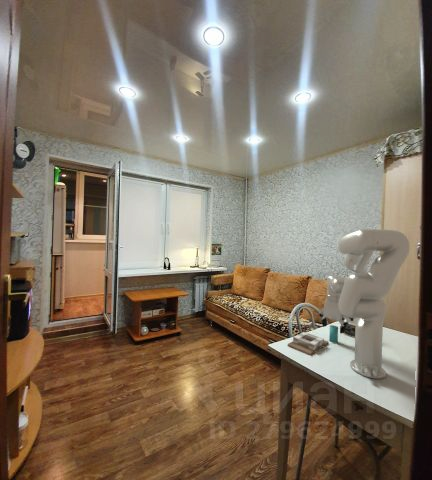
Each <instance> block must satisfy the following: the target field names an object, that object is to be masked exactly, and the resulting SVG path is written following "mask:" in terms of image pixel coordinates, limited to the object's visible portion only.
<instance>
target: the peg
mask: <svg viewBox="0 0 432 480" xmlns="http://www.w3.org/2000/svg"><path fill="white" fill-rule="evenodd" d="M328 338H329V341H328V342H329V343H333V344H338V342H339V326H336V325H335V324H333V325H332V324H331V325H329V337H328Z"/></svg>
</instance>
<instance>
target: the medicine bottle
mask: <svg viewBox="0 0 432 480" xmlns="http://www.w3.org/2000/svg"><path fill="white" fill-rule="evenodd" d="M350 319H351V321H350V322H349V324H347V325H346V326H345V332H344V333H342V334H343V335H345V336H349V337H353V338H355V326H356V323H357V321H358V319H359V318H350ZM344 321H345V322H346V320H344Z"/></svg>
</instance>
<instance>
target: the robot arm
mask: <svg viewBox="0 0 432 480" xmlns="http://www.w3.org/2000/svg"><path fill="white" fill-rule="evenodd" d="M338 251H339V252H340V253H341V254H342V255H346V257H345V258H344V266H345V267H346V268H347V269H348V270H350V271H351V272H354V273H352V274H349V275H348V276H347V277H346V278H345V277H342V276H339V275H335V274H333V275H328V276H327V279H326V281H327V282H326V283H327V284H326V298H325V301H324V304H323V308H320V309H318V310H317V311H318V314H319V316H320V318H321V320H322V322H321V325H322V327H323V328H324V327H327V325H328V319H330V320H332V321H336V322H338V323H339V324H340V326H339V333H340V335H341V334H343V333H344V332H345V326H346V325H347V324H349V322H350V321H351V319H350V318H358V321H357V323H356V326H355V337H354V359H352V360H350V362H349V363H350V365H349V366H350V368H351V369H352V370H353V371H354V372H355V373H357V374H359V375H361V376H364V377H366V378H369V379H370V378H371V379H376V380H377V379H379V380H381V379H384V378H386V377H387V372H386V370H385V369H384V368H383V365H382V364H383V363H382V362H383V361H382V360H383V335H384V334H383V331H384V322H385V318H386V314H387V306H386V302H385V301H384V300H383V299H382V298H385V297H387V296H389V294H390V291H391V289H392V287H393V285H394V282H395V281H396V279H397V276H398V273H399V271H400V270H401V268H402V266H403V264H404V263H405V262H406V260H407V258H408V256H409V253H410V241H409V239H408V237H407V235H405V234H404V232H403V233H402V232H401V231H398V230H393V229H372V228H371V229H369V228H367V229H365V228H363V229H357V230H355V231H353V232H350V233H348V234H345V235H344V236H342V237H341V239H340V240H339V243H338ZM374 252H382V253H381V254H380V255H378V256H377V257H376V258H375V259H374V260H373V261H372V263H371V266H370V268H369V270H368V272H367V271H366V269H365V268H366V266H367V264H368V262H369V261H370V259H371V258H372V255H373V253H374ZM345 321H346V322H345Z"/></svg>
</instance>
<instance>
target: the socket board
mask: <svg viewBox="0 0 432 480" xmlns="http://www.w3.org/2000/svg"><path fill="white" fill-rule="evenodd" d="M328 344H329V341H328V340H325V339H324V338H322V337H319V336H318V335H317V336H316V335H314V334H311V333H308V332H305V331H302V332H301V333H298V334H297V335H295V336H293V339H292V341H291V342H289V343H287V347H289V348H291V349H294V350H295V351H296V350H297V351H298V352H301V353H303V354H305V355H307V356H312V355H313V354H315V353H317V352H318V351H319V350H322V348H324V347H326V346H327V345H328Z"/></svg>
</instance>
